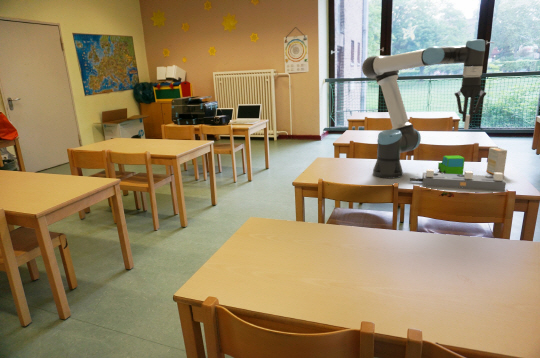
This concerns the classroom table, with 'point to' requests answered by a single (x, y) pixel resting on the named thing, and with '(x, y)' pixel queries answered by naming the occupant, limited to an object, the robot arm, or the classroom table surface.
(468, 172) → the slider middle
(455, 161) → the toy car
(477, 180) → the power strip
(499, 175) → the block
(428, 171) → the slider near arm
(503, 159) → the supplement box
